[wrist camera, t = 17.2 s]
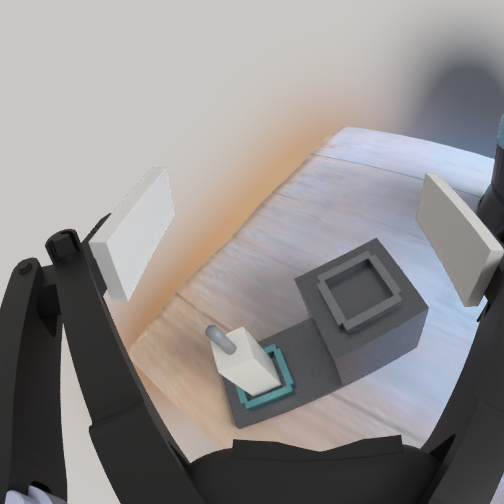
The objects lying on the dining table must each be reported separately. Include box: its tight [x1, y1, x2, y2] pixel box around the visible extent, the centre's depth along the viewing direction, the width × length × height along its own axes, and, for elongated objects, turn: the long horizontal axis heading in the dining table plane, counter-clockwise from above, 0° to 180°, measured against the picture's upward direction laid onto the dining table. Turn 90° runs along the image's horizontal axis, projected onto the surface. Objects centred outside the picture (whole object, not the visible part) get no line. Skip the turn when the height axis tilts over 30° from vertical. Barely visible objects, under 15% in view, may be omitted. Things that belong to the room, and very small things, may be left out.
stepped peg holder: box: [222, 238, 429, 429], centre depth 39 cm, size 13×28×13 cm, turn 108°
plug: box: [205, 325, 282, 397], centre depth 37 cm, size 5×4×17 cm
